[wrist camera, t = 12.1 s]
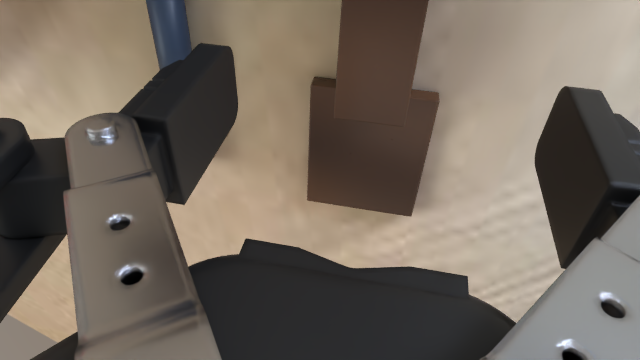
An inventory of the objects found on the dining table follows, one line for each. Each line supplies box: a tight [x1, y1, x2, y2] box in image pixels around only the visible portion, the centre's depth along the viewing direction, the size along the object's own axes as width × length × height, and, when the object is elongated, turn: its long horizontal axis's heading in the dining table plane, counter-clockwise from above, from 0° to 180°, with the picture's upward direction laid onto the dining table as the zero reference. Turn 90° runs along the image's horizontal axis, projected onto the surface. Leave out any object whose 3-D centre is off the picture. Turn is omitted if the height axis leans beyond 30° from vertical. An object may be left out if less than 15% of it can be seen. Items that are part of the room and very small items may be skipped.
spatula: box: [307, 0, 439, 216], centre depth 17 cm, size 20×6×3 cm, turn 178°
